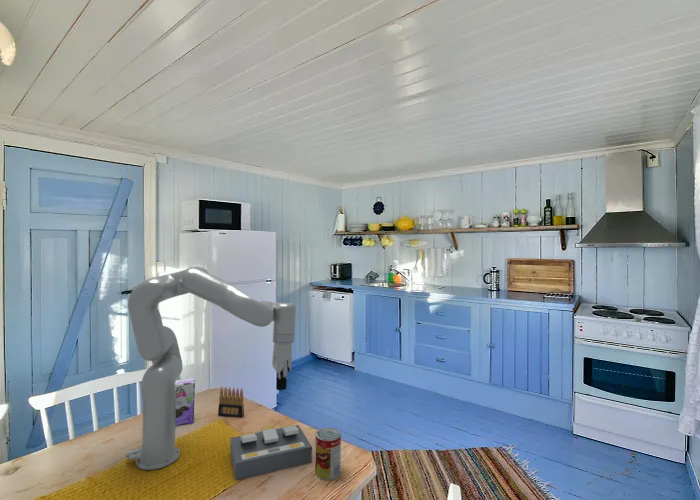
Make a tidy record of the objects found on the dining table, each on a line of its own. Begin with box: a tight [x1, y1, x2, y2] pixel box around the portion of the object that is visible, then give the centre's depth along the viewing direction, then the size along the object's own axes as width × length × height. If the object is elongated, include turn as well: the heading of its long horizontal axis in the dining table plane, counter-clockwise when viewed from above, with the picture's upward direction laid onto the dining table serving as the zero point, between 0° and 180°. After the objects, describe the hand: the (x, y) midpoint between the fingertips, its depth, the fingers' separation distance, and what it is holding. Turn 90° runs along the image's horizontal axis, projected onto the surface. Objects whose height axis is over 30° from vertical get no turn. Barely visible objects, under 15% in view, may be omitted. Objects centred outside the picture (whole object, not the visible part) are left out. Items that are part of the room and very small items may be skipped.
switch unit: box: [229, 424, 313, 481], centre depth 117 cm, size 24×16×6 cm, turn 114°
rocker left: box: [239, 432, 257, 443], centre depth 116 cm, size 4×7×1 cm, turn 24°
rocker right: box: [280, 423, 299, 436], centre depth 122 cm, size 4×7×1 cm, turn 24°
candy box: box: [175, 377, 196, 427], centre depth 140 cm, size 14×6×16 cm, turn 112°
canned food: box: [314, 427, 342, 481], centre depth 110 cm, size 8×8×12 cm
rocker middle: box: [260, 424, 278, 444], centre depth 119 cm, size 4×7×1 cm, turn 24°
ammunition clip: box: [217, 386, 245, 419], centre depth 146 cm, size 11×2×12 cm, turn 83°
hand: (281, 389), depth 124 cm, fingers closed
